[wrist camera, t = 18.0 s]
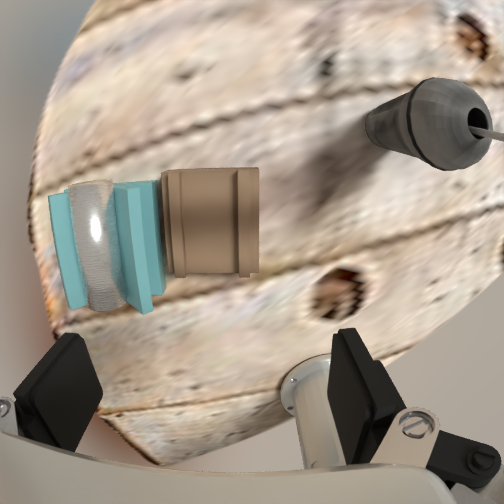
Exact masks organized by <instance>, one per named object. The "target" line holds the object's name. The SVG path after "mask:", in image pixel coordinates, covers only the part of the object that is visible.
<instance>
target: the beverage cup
mask: <svg viewBox="0 0 504 504" xmlns="http://www.w3.org/2000/svg"><path fill="white" fill-rule="evenodd" d="M365 125H366V132H367V134H368V136H369V138H370V139H371V140H372V142H373V143H375V144H376V145H378V146H380V147H383V148H386V149H389V150H392V151H396V152H400V153H403V154H407V155H410V156H413V157H417V158H419V159H421V160H422V161H424V162H426V163H428V164H430V165H431V166H432V167H434V168H437V169H440V170H442V171H451V170H457V169H465V168H467V167H469V166H471V165H473V164H475V163H477V162H479V161H480V160H481V159H482V157H483V156H484V155H485V154H486V153H487V151H488V149H489V146H490V144H491V141H492V139H496V140H500V141H504V133H500V132H495V131H493V126H492V119H491V116H490V112H489V110H488V108H487V106H486V104H485V102H484V101H483V99H482V98H481V97H480V96H479V95H478V94H477V93H476V92H475V91H474V90H473V89H472V88H470V87H469V86H467V85H465V84H463V83H462V82H459V81H457V80H451V79H444V78H435V77H433V78H429V79H426V80H423V81H421V82H420V83H419V84H418V85H417V86H416V87H414V88H413V89H412V90H411V91H410V92H408V93H406V94H403V95H401V96H399V97H397V98H395V99H392V100H390V101H388V102H386V103H384V104H382V105H380V106H378V107H377V108H375V109H373V110H372V111H371V112H370V113H369V115H368V116H367V118H366V124H365Z"/></svg>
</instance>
